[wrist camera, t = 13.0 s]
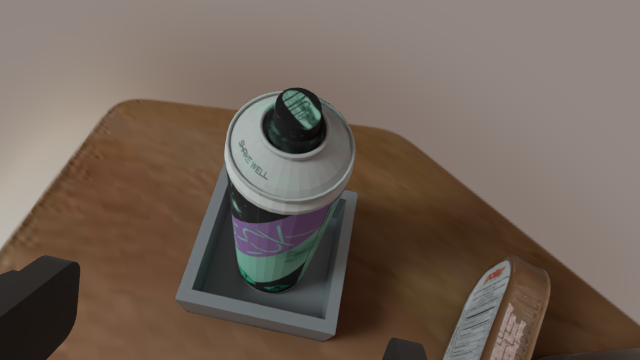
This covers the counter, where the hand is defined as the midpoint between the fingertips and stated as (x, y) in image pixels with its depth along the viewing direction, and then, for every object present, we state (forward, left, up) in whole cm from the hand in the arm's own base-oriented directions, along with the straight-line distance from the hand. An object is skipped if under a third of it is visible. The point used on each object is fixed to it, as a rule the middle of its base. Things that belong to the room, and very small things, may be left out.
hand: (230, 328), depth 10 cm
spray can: (0, -8, -21) cm, 22 cm away
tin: (-16, -4, -22) cm, 27 cm away
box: (0, -8, -21) cm, 23 cm away
